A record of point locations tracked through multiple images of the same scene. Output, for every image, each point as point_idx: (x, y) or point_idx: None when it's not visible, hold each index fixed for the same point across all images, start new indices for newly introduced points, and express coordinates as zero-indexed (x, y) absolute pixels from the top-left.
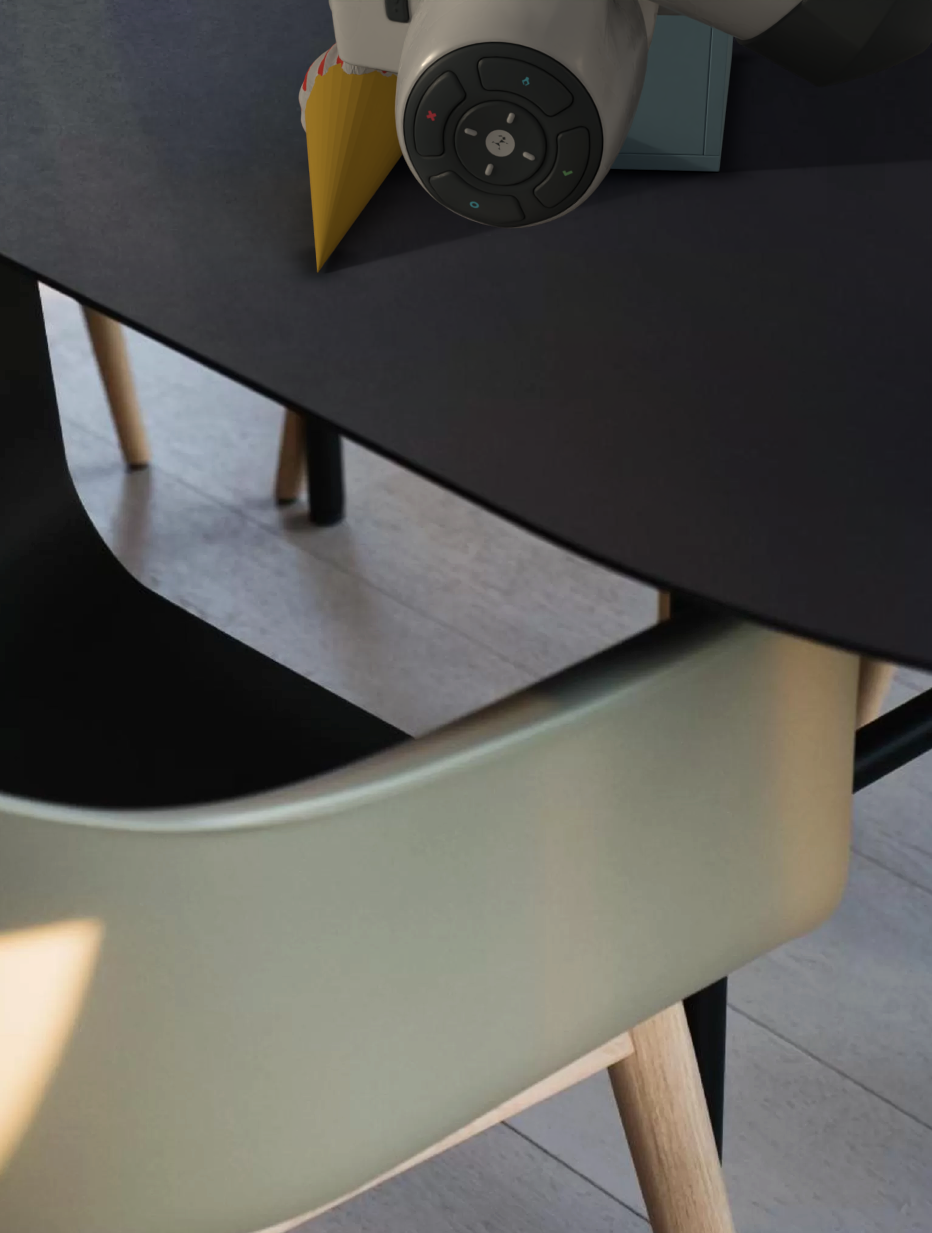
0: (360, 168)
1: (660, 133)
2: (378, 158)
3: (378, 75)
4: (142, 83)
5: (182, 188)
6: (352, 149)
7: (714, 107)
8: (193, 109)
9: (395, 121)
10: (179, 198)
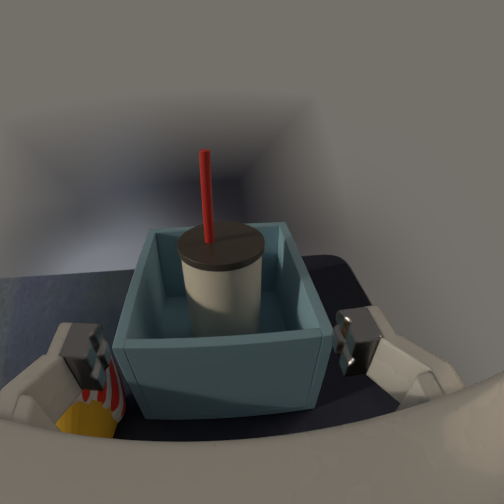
0: None
1: (280, 401)
2: None
3: (81, 404)
4: (14, 328)
5: None
6: None
7: (315, 387)
8: (26, 352)
9: (101, 433)
10: None
